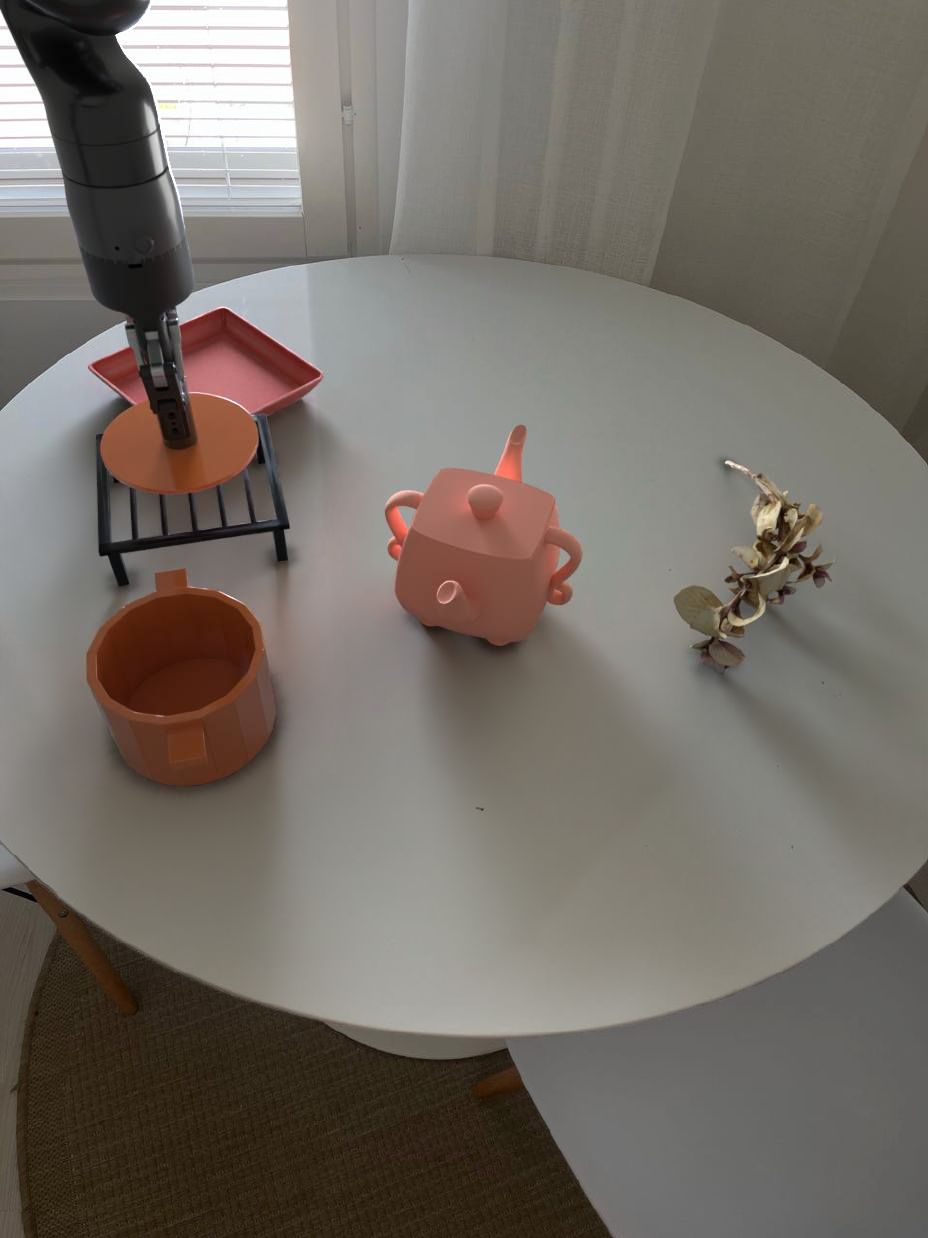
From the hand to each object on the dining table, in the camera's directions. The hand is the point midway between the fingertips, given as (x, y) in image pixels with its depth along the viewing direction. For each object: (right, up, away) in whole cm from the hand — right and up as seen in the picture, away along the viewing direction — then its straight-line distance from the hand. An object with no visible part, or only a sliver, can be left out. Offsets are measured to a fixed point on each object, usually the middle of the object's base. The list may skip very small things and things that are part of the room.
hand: (176, 423), depth 78 cm
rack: (-1, -7, +8) cm, 11 cm away
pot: (+4, -25, -6) cm, 26 cm away
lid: (0, -1, +2) cm, 2 cm away
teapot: (+26, -15, +4) cm, 30 cm away
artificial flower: (+51, -12, +8) cm, 53 cm away
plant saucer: (-3, +7, +21) cm, 22 cm away
